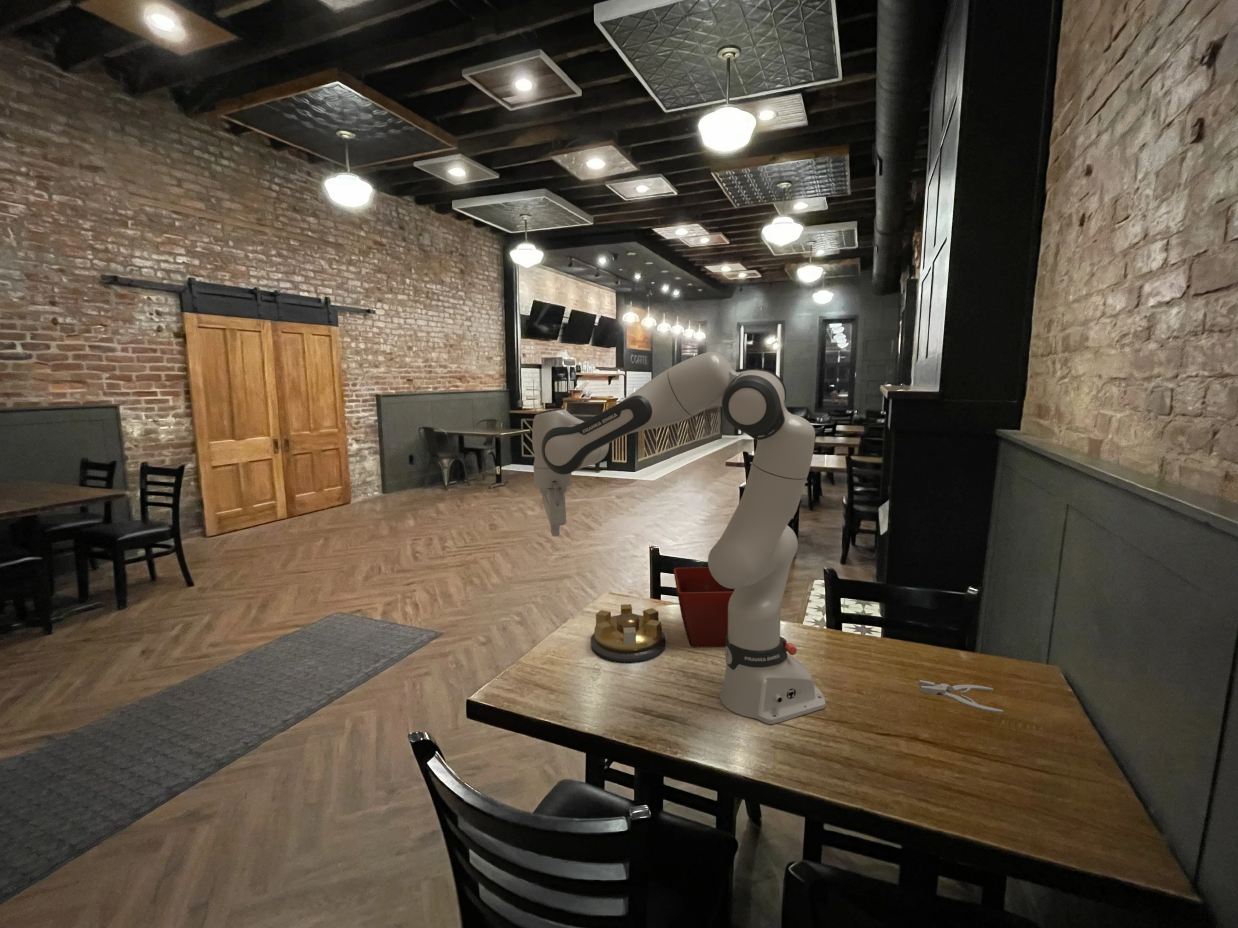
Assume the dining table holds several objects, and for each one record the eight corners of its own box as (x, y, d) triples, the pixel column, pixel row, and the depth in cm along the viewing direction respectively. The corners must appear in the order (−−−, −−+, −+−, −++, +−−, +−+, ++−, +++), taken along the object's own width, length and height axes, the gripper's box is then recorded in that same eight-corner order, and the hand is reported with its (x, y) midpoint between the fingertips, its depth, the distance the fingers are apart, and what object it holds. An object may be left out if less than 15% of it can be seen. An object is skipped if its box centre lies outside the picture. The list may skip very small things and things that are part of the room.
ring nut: (594, 624, 159) (594, 605, 159) (657, 621, 160) (657, 603, 159) (594, 654, 142) (594, 634, 141) (665, 651, 142) (665, 631, 141)
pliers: (1003, 708, 117) (922, 694, 123) (1003, 715, 117) (922, 701, 123) (992, 683, 126) (917, 672, 132) (992, 690, 126) (917, 678, 132)
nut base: (654, 625, 163) (654, 617, 162) (675, 658, 143) (675, 649, 143) (586, 632, 159) (585, 625, 159) (597, 667, 140) (597, 658, 139)
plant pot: (678, 653, 146) (677, 591, 143) (673, 622, 164) (673, 567, 162) (752, 653, 145) (753, 591, 142) (739, 622, 164) (740, 566, 161)
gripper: (571, 485, 123) (573, 546, 125) (561, 470, 143) (563, 523, 145) (542, 486, 122) (545, 548, 124) (536, 472, 142) (539, 525, 144)
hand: (555, 534), depth 135 cm, fingers closed
